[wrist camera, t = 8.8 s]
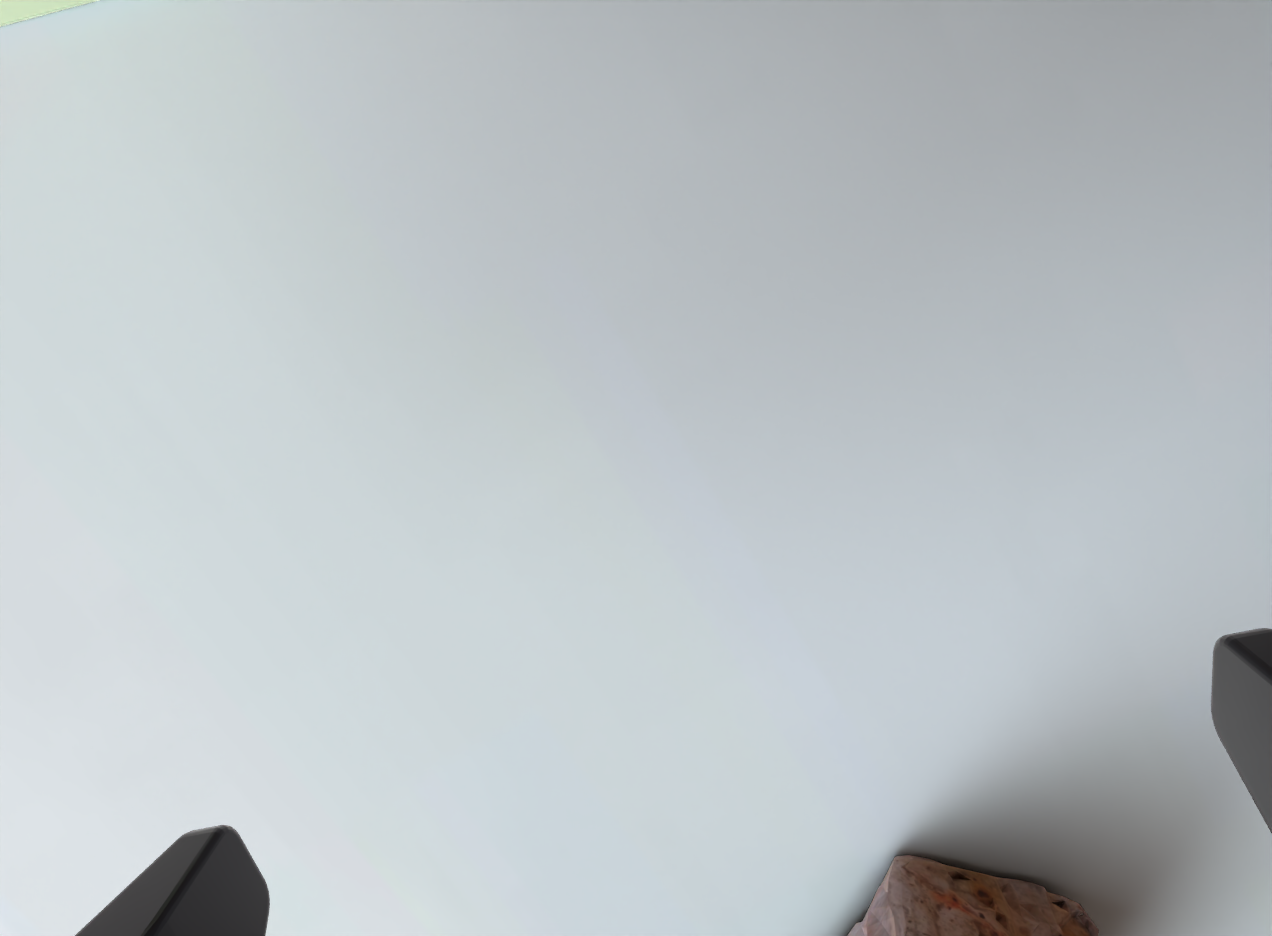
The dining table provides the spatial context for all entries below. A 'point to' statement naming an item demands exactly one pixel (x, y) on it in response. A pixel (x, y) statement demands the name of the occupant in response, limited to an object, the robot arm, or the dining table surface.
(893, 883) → the food item
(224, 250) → the dining table surface
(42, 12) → the pad
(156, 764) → the dining table surface
